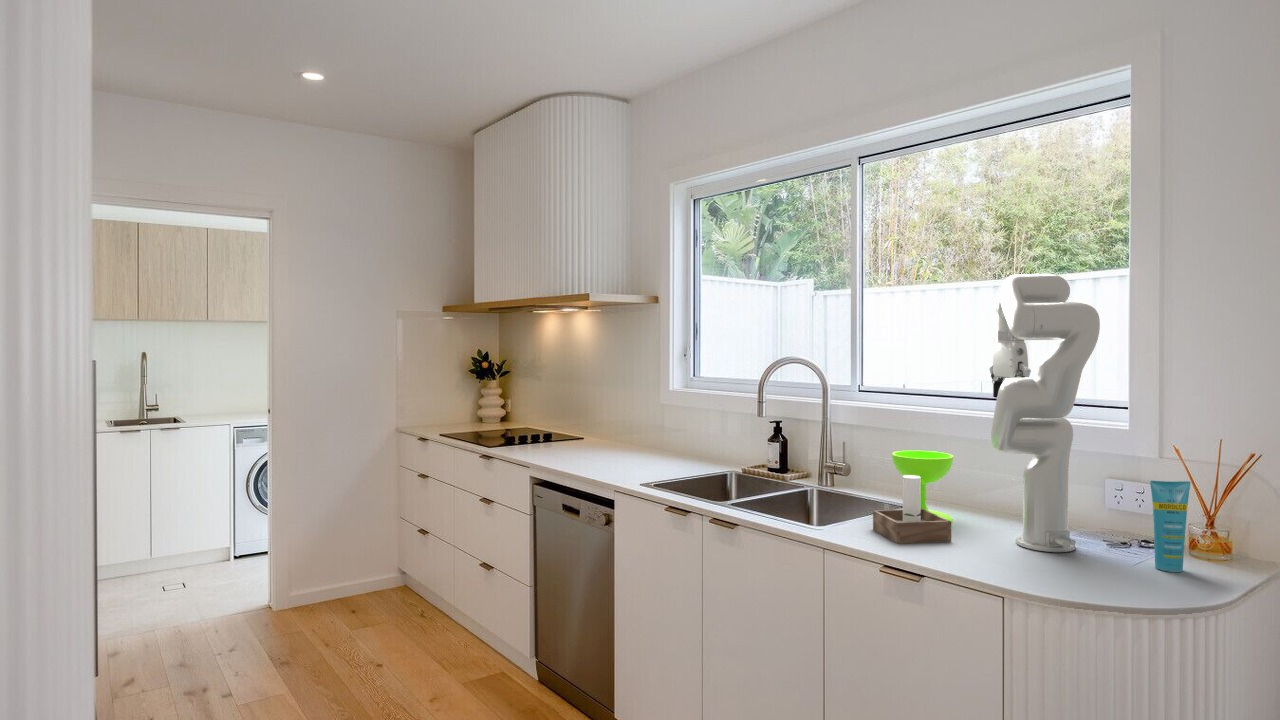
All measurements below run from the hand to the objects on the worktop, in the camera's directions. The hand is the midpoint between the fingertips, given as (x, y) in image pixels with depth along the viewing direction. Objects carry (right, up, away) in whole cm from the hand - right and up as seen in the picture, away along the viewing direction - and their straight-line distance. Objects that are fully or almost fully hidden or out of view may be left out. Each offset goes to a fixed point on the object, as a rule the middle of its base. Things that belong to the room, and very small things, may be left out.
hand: (1009, 398), depth 210 cm
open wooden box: (-35, -34, -19) cm, 52 cm away
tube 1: (-35, -34, -20) cm, 52 cm away
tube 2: (+10, -34, -50) cm, 61 cm away
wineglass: (-25, -34, -2) cm, 42 cm away
